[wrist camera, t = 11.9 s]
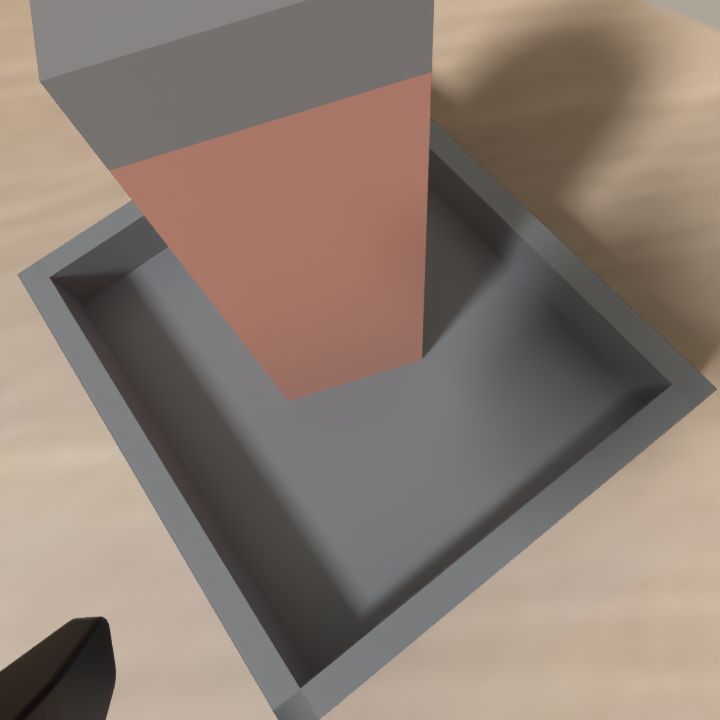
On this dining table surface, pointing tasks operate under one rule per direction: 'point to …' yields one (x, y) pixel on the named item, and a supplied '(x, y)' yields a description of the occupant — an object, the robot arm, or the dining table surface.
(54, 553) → the dining table surface
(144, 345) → the tray
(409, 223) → the pink and gray block
